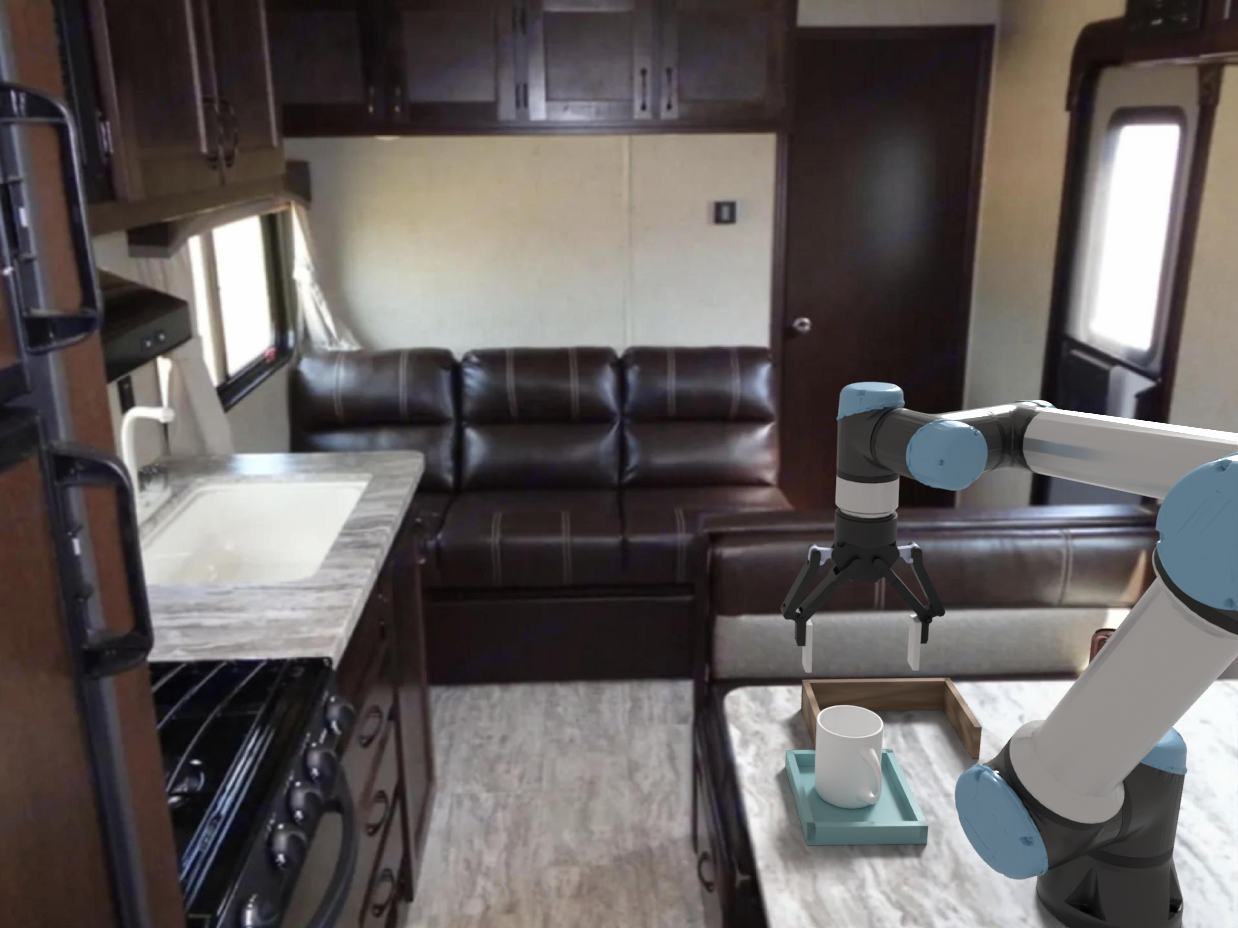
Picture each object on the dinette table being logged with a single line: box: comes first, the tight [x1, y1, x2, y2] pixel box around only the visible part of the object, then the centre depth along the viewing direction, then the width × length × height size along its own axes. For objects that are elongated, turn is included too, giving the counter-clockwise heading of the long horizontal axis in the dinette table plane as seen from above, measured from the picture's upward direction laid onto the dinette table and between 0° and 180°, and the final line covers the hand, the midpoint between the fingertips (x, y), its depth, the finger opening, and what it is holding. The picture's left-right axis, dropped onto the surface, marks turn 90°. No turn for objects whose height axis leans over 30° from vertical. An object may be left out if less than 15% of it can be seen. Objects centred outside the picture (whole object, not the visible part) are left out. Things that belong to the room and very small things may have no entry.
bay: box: [800, 677, 983, 759], centre depth 155 cm, size 15×23×5 cm, turn 90°
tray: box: [784, 748, 929, 846], centre depth 138 cm, size 18×15×3 cm
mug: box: [814, 705, 884, 809], centre depth 137 cm, size 9×12×11 cm
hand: (859, 667), depth 133 cm, fingers open, 13 cm apart
